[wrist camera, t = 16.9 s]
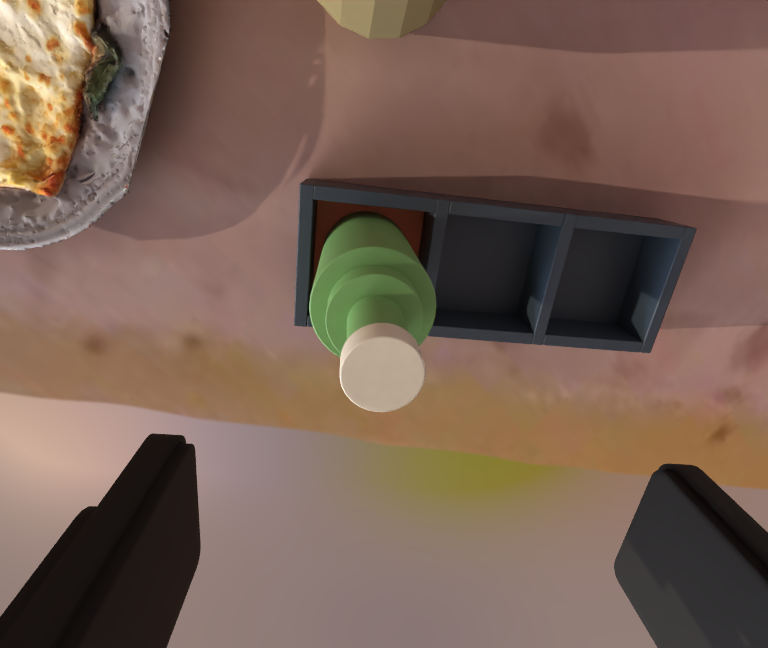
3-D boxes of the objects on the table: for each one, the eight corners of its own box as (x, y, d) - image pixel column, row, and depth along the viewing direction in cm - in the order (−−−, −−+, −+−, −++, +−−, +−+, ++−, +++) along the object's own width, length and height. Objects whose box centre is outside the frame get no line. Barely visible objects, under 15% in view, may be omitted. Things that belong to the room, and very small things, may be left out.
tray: (656, 218, 31) (697, 228, 28) (618, 331, 35) (650, 353, 31) (306, 178, 29) (299, 183, 25) (300, 305, 32) (293, 326, 28)
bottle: (412, 215, 29) (487, 298, 13) (401, 297, 31) (454, 453, 16) (325, 206, 29) (295, 282, 13) (320, 290, 31) (289, 445, 15)
